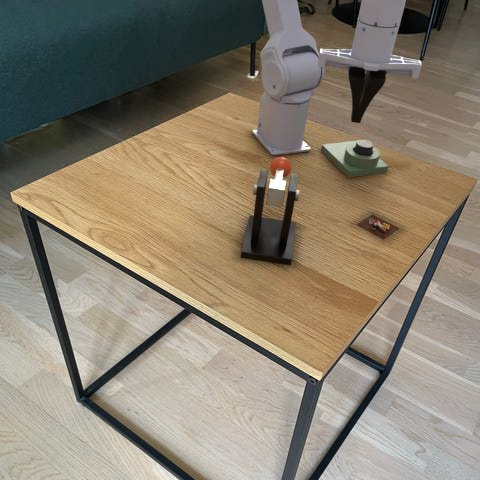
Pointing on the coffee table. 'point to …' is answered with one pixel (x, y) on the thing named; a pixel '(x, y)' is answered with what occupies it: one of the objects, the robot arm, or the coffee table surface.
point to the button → (364, 147)
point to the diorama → (378, 226)
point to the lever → (278, 181)
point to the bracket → (271, 227)
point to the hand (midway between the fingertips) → (355, 120)
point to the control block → (354, 159)
